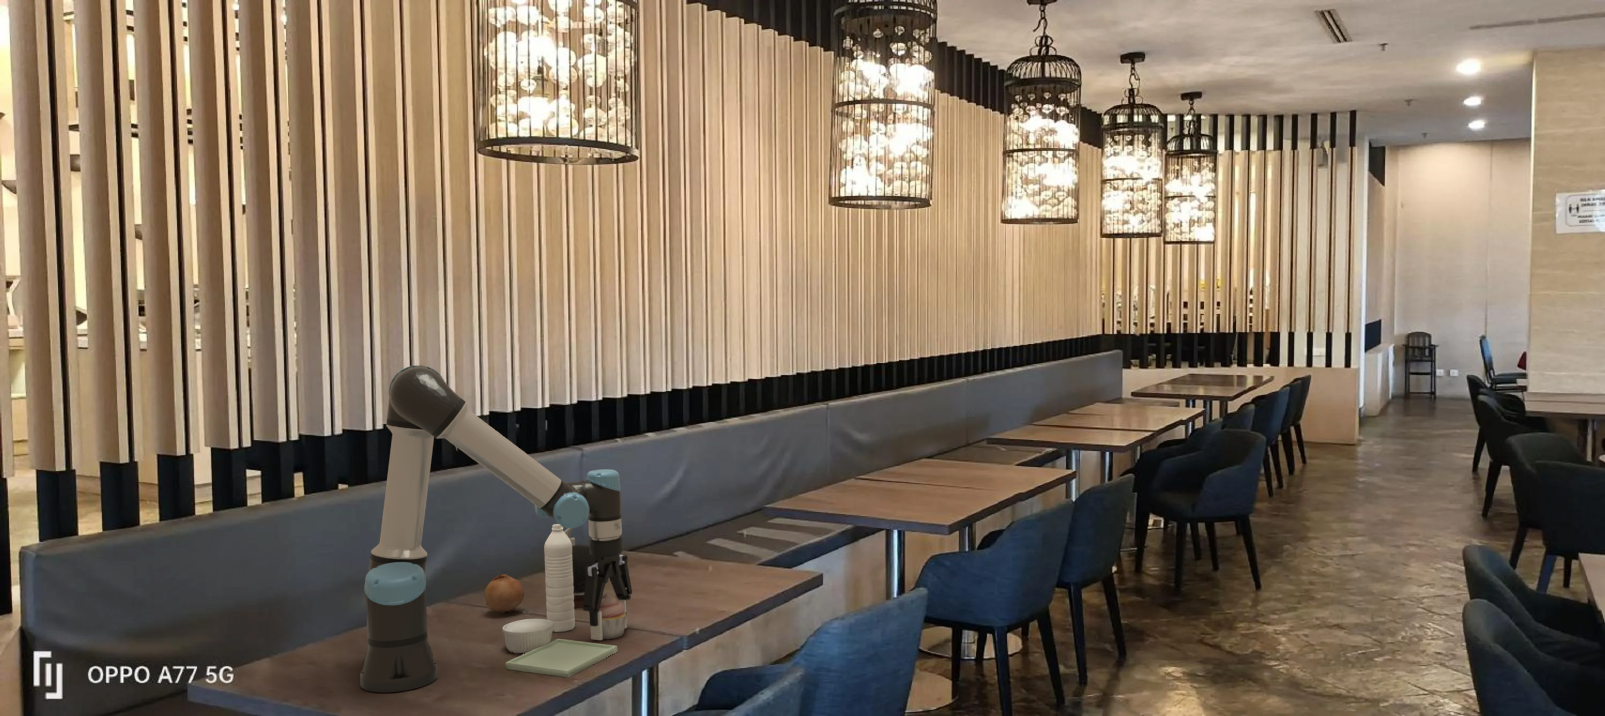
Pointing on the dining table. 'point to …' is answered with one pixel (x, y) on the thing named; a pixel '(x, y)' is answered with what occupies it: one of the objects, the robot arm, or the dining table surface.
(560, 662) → the tray
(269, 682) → the dining table surface
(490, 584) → the onion
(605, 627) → the cupcake
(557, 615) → the water bottle
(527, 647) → the ramekin
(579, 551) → the black ball on stand
